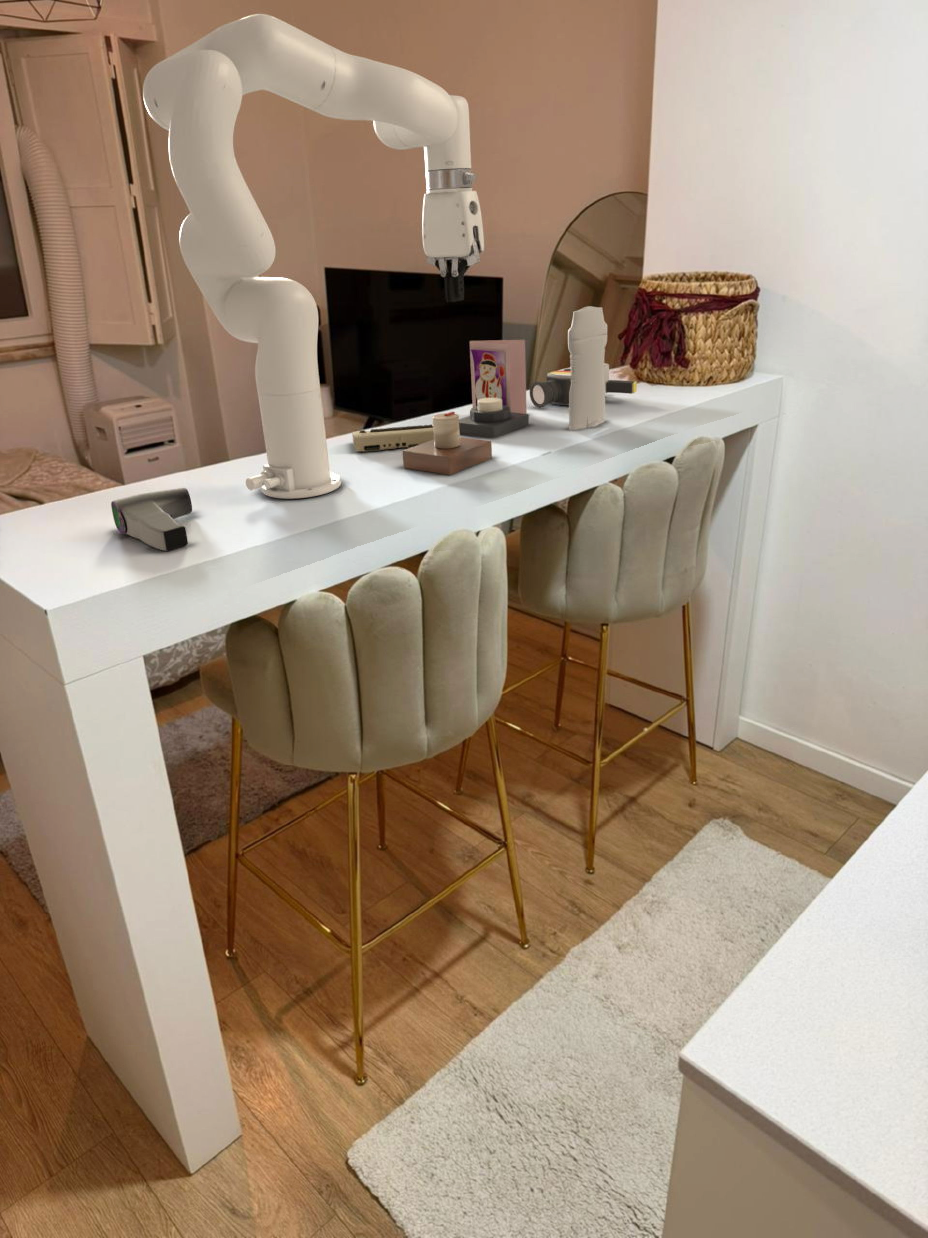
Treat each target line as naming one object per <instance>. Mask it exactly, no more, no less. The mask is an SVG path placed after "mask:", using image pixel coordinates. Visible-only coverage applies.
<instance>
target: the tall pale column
mask: <svg viewBox="0 0 928 1238" xmlns="http://www.w3.org/2000/svg"><path fill="white" fill-rule="evenodd" d="M603 310H604V309H603V307H597V306H593V305H590V306H589V305H588V306H584V307H582V308H580V309H577V310H575V311H573V312H572V313H573V314H572V320H571V326H570V328H568V330H567V348H568V351H569V354H570V355H569V359H570V360H569V362H570V366H569V368H570V367H571V380H570V381H571V386H570V391H569V405H568V429H569V431H577V430H582V429H583V430H584V429H586V428H595V427H597V426H598V425H600V424H603V423H605V422H606V394H605V381H604V363H605V361H606V360H605V356H606V354H605V353H606V346H607V343H608V324H607V323H606V321H605V318H604V312H603Z"/></svg>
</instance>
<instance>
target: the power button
mask: <svg viewBox="0 0 928 1238" xmlns="http://www.w3.org/2000/svg"><path fill="white" fill-rule="evenodd" d="M477 405H478V411H482V412H493V411H500V410H502V399H500V398H483V399H479V400H478V401H477Z"/></svg>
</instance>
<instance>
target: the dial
mask: <svg viewBox="0 0 928 1238" xmlns="http://www.w3.org/2000/svg"><path fill="white" fill-rule="evenodd" d="M459 419H460V416H459V414H458V413H456V411H449V412H446V413H444V412H443V413H438V414H435V415H433V416H432V426H433V432H434V446H435V447H436V448H443V449H447V448H455V447H458V446H460V437H461V434H460V431H459Z"/></svg>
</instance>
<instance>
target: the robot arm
mask: <svg viewBox="0 0 928 1238" xmlns="http://www.w3.org/2000/svg"><path fill="white" fill-rule="evenodd" d="M258 91H267V92H270V93H272V94H275V95H277V96H279V97H281V98H284V99H286V100H289V101H291V102H293V103H296V104H298V105H300V106H302V107H304V108H306V109H308V110H311V111H313V112H315V113H317V114H320V115H322V116H324V117H327V118H331V119H336V120H342V121H343V120H344V121H372V122H373V129H374V133H375V135H376V136H377V138H378V140H380V142H381V143H382V144H384V145H385V146H387V148H390V149H394V150H402V151H403V150H410V149H411V150H412V149H417V148H423V151H424V152H423V153H424V168H425V183H426V185H425V186H426V193H424V195H423V204H422V220H421V221H422V222H421V224H422V226H421V227H422V229H421V233H422V245H423V251H424V254H425V255H426V260H425V261H426V264H427V265H431V266H433V267H436V268H437V269H438V271H439V272H440V276H441V277H442V278H443V281H444V282H443V283H444V295H445V301H446V303H447V302H448V303H451V302H452V303H456V302H460V301H464V300H465V279H464V276H466V275H467V273H468V270H469V269H470V267H471V266H475V265H476V264H480V263H481V256H480V255H481V254H483V253H484V251H485V236H484V225H483V217H482V211H481V205H480V200H479V196H478V192H477V190H473V183H476V181H477V174H476V173H474V172H472V154H471V130H470V110H469V109H470V107H469V103H468V100H467V99H466V98H465V97H464V96H460V95H453V94H451V95H450V94H449V93H448V91H446V90H445V89H444V88H443V87H441V86H440V85H438V84H437V83H435V82H433V81H431V80H429V79H427V78H426V77H424V76H422V75H421V74H417V73H415V72H414V71H411V70H408V69H406V68H402V67H400V66H396V65H392V64H389V63H384V62H381V61H377V60H373V59H370V58H367V57H363V56H359V55H354V54H350V53H347V52H344V51H342V50H340V49H338V48H336V47H334V46H332V45H331V44H329V43H326V42H324V41H322V40H320V39H318V38H317V37H314V36H313V35H311V34H309V33H307V32H305V31H303V30H301V29H299V28H297V27H295V26H294V25H291V24H289V23H288V22H285V20H281V19H280V18H277V17H275V16H272V15H270V14H266V13H255V14H250V15H248V16H247V15H246V16H245V17H242V18H239V19H237V20H233V21H231V22H228V23H226V24H223V25H221V26H219V27H217V28H216V29H214V30H213V31H211V32H210V33H207V34H206V35H204V36H203V37H201V38H199V39H198V40H196V41H195V42H193V43H191V44H190V45H188V46H186V47H184V48H182V49H181V50H179V51H177V52H175V53H173V54H171V55H170V56H168V57H167V58H165V59H162V60H161V61H160V62H158V63H156V64H155V65H153V66H152V67H151V69H149V71H148V72H147V74H146V76H145V78H144V81H143V86H142V98H143V102H144V106H145V108H146V110H147V112H148V115H149V116H150V117H151V118H152V120H153V121H154V122H155V123H156V125H158V126H160V127H161V128H162V129H164V130H166V131H168V157H169V164H170V165H169V166H170V168H171V172H172V176H173V179H174V181H175V183H176V186H177V188H178V190H179V192H180V194H181V196H182V198H183V200H184V202H185V205H186V206H187V209H188V211H189V212H190V213H189V214H188V215H187V216H186V217H185V218H184V220H183V221H182V223H181V226H180V230H179V240H178V241H179V242H178V243H179V247H180V248H179V249H180V253H181V257H182V259H183V261H184V264H185V266H186V268H187V270H188V271H189V273H190V275H191V277H192V278H193V280H194V282H195V283H196V286H197V287H198V289H199V290H200V292H201V294H202V295H203V298H204V299H205V301H206V303H207V304H208V306H209V307H210V309H211V311H212V312H213V314H214V315H215V318H216V319H217V321H218V322H219V323H220V325H221V326H222V328H224V330H225V331H226V333H228V334H229V335H230V336H231V337H233V338H235V339H237V340H239V341H242V342H246V343H252V344H257V351H256V358H255V365H254V366H255V368H254V376H255V385H256V392H257V397H258V402H259V403H258V404H259V410H260V418H261V425H262V431H263V439H264V447H265V452H266V460H267V464H264V465H262V468H263V471H261V472H260V473H259V475H258V474H257V475H254V476H250V477H247V478H246V479H245V486H246V488H247V489H248V490H249V491H253V490H257V489H259V488H261V492H262V493H263V494H264V495H266V496H268V497H270V498H274V499H275V498H276V499H290V500H291V499H293V500H294V499H305V498H306V499H307V498H312V497H313V498H314V497H317V496H322V495H325V494H329V493H331V492H333V491H335V490H337V489H338V488H340V487H341V485H342V479H341V476H340V475H339V474H338V473H335V472H333V471H331V468H330V460H329V452H328V444H327V435H326V433H327V432H326V426H325V418H324V408H323V407H324V406H323V399H322V392H321V391H322V390H321V383H320V375H319V374H320V373H319V363H318V335H319V310H318V306H317V302H316V300H315V298H314V296H313V295H312V293H311V292H310V291H309V290H308V289H307V287H305V286H304V285H303V284H302V283H300V282H298V281H296V280H293V279H290V278H286V277H275V276H274V277H269V276H261V277H260V276H259V275H262V274H264V273H266V272H267V271H268V270H269V269H270V268H271V267H272V265H273V263H274V261H275V258H276V243H275V240H274V237H273V234H272V232H271V229H270V228H269V225H268V223H267V222H266V219H265V218H264V216H263V214H262V212H261V210H260V208H259V206H258V203H257V202H256V200H255V198H254V196H253V194H252V193H251V191H250V189H249V187H248V184H247V182H246V180H245V178H244V177H243V174H242V172H241V170H240V166H239V165H238V162H237V159H236V156H235V150H234V132H235V125H236V121H237V118H238V116H239V115H238V114H239V112H240V109H241V105H242V100H243V96H244V95H247V94H249V93H255V92H258Z"/></svg>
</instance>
